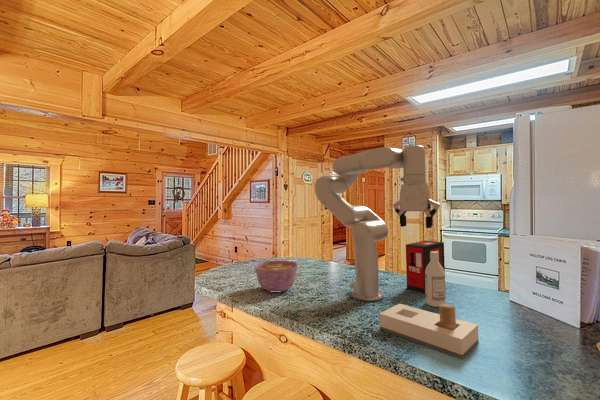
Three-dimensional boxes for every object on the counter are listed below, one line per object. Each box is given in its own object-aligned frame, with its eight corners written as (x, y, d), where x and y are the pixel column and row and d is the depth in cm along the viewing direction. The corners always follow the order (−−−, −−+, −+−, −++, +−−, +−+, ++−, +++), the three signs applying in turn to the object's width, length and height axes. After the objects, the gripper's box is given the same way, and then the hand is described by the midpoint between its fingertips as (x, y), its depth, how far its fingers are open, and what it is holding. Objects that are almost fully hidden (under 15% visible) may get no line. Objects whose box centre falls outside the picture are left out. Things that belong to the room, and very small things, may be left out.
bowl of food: (246, 290, 136) (246, 265, 136) (280, 281, 149) (280, 258, 149) (272, 300, 121) (271, 272, 121) (307, 289, 134) (307, 264, 134)
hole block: (462, 359, 74) (461, 339, 74) (380, 329, 92) (379, 313, 92) (478, 342, 82) (478, 324, 82) (399, 318, 100) (399, 303, 100)
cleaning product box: (425, 293, 124) (424, 246, 124) (406, 289, 131) (405, 244, 131) (445, 285, 134) (443, 242, 134) (426, 281, 141) (425, 240, 141)
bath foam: (449, 305, 110) (448, 252, 110) (438, 309, 107) (436, 254, 107) (433, 300, 116) (432, 249, 116) (421, 303, 113) (420, 251, 113)
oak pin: (437, 338, 83) (436, 306, 83) (444, 334, 85) (443, 303, 86) (452, 343, 80) (451, 310, 80) (458, 339, 82) (457, 307, 82)
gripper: (387, 181, 110) (388, 226, 110) (433, 178, 97) (435, 229, 98) (398, 181, 115) (399, 225, 115) (443, 178, 102) (444, 227, 103)
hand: (415, 227), depth 106 cm, fingers open, 9 cm apart
